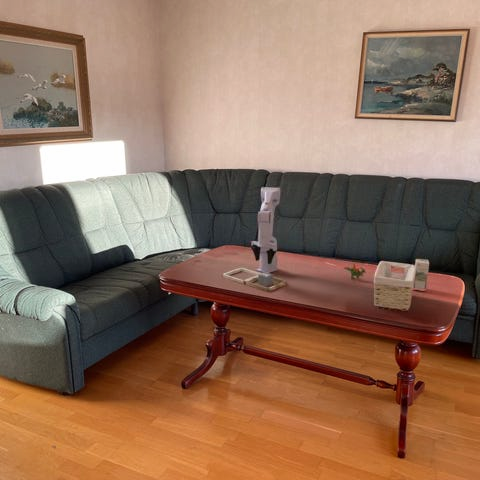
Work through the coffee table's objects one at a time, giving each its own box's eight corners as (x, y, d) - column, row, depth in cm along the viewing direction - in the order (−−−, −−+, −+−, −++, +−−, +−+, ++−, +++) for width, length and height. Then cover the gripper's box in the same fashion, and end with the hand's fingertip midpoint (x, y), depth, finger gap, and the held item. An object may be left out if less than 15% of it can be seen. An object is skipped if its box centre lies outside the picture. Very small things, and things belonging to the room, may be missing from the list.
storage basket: (410, 314, 189) (414, 281, 186) (369, 308, 196) (373, 275, 192) (413, 295, 211) (417, 264, 207) (377, 289, 217) (379, 259, 213)
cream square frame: (241, 270, 241) (241, 267, 240) (262, 276, 232) (262, 273, 231) (221, 277, 230) (222, 274, 230) (243, 284, 221) (243, 281, 221)
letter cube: (264, 281, 225) (265, 272, 223) (272, 284, 222) (273, 274, 220) (258, 284, 221) (258, 274, 220) (266, 286, 218) (266, 276, 217)
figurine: (363, 282, 226) (365, 266, 224) (341, 277, 233) (342, 262, 230) (366, 280, 228) (367, 265, 226) (343, 275, 235) (344, 260, 233)
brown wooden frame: (263, 276, 231) (263, 274, 231) (286, 283, 222) (287, 281, 222) (244, 284, 221) (244, 281, 220) (268, 291, 211) (268, 288, 211)
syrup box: (425, 288, 219) (428, 259, 215) (425, 292, 214) (429, 262, 210) (412, 286, 221) (415, 258, 217) (412, 290, 215) (416, 261, 212)
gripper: (247, 234, 223) (247, 260, 226) (271, 239, 213) (270, 267, 217) (256, 231, 228) (256, 257, 231) (280, 236, 218) (279, 263, 222)
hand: (263, 262), depth 224 cm, fingers open, 7 cm apart
